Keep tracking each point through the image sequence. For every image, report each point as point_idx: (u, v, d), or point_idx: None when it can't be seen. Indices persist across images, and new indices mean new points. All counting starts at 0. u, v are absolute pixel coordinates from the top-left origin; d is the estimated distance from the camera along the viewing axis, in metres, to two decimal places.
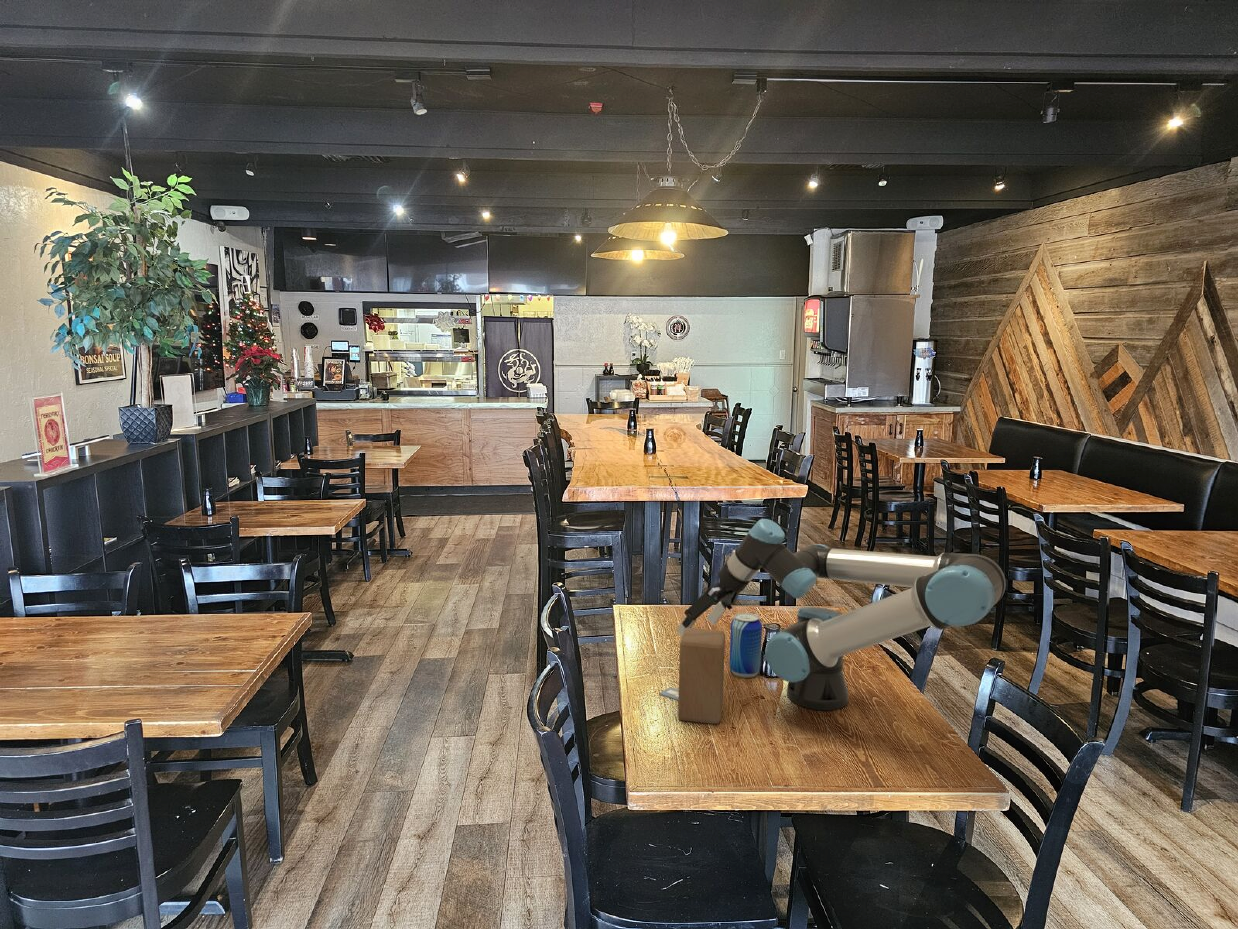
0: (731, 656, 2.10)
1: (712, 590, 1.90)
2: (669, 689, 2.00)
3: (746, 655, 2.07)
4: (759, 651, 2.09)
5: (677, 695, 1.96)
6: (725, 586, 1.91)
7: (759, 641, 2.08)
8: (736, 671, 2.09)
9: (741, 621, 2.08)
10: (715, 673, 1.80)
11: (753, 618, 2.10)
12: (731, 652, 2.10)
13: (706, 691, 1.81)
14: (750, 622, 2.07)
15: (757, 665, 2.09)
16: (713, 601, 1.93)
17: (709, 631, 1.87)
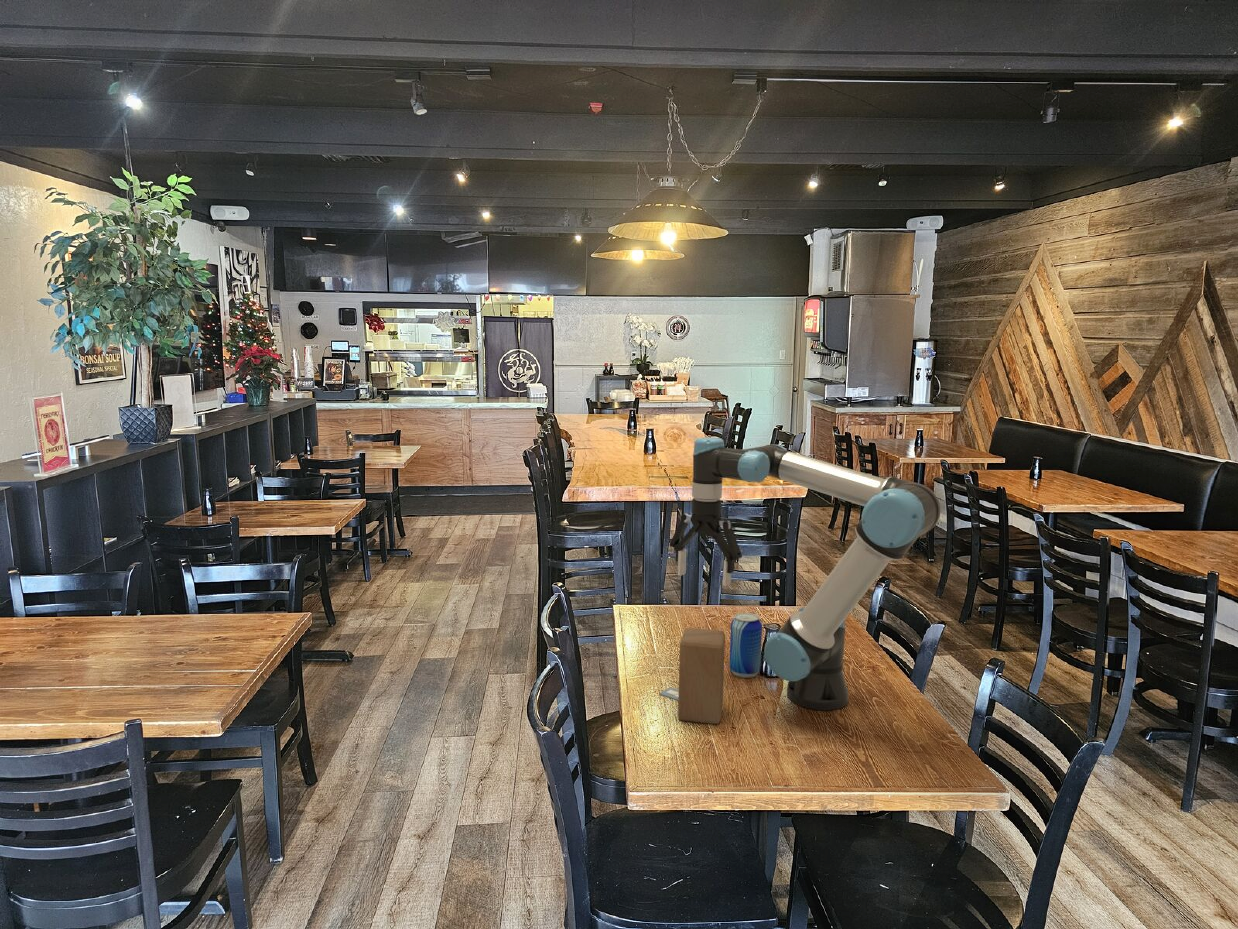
0: (731, 656, 2.10)
1: None
2: (669, 689, 2.00)
3: (746, 655, 2.07)
4: (759, 651, 2.09)
5: (677, 695, 1.96)
6: None
7: (759, 641, 2.08)
8: (736, 671, 2.09)
9: (741, 621, 2.08)
10: (715, 673, 1.80)
11: (753, 618, 2.10)
12: (731, 652, 2.10)
13: (706, 691, 1.81)
14: (750, 622, 2.07)
15: (757, 665, 2.09)
16: None
17: (709, 631, 1.87)
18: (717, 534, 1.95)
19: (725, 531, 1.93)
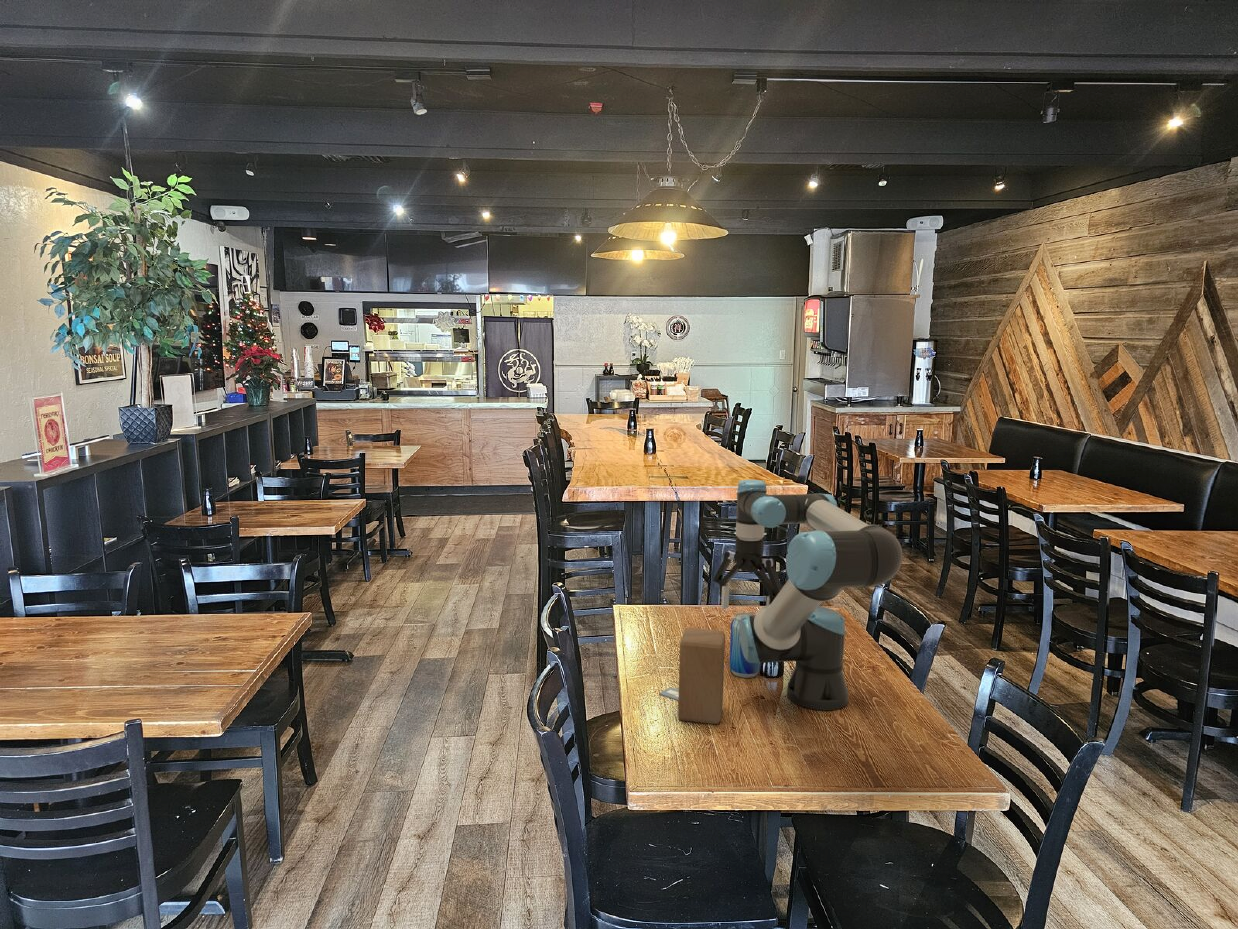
0: (731, 656, 2.10)
1: None
2: (669, 689, 2.00)
3: None
4: None
5: (677, 695, 1.96)
6: None
7: None
8: (736, 671, 2.09)
9: None
10: (715, 673, 1.80)
11: None
12: (731, 652, 2.10)
13: (706, 691, 1.81)
14: None
15: (757, 665, 2.09)
16: (733, 567, 2.10)
17: (709, 631, 1.87)
18: (760, 571, 2.06)
19: (768, 569, 2.03)
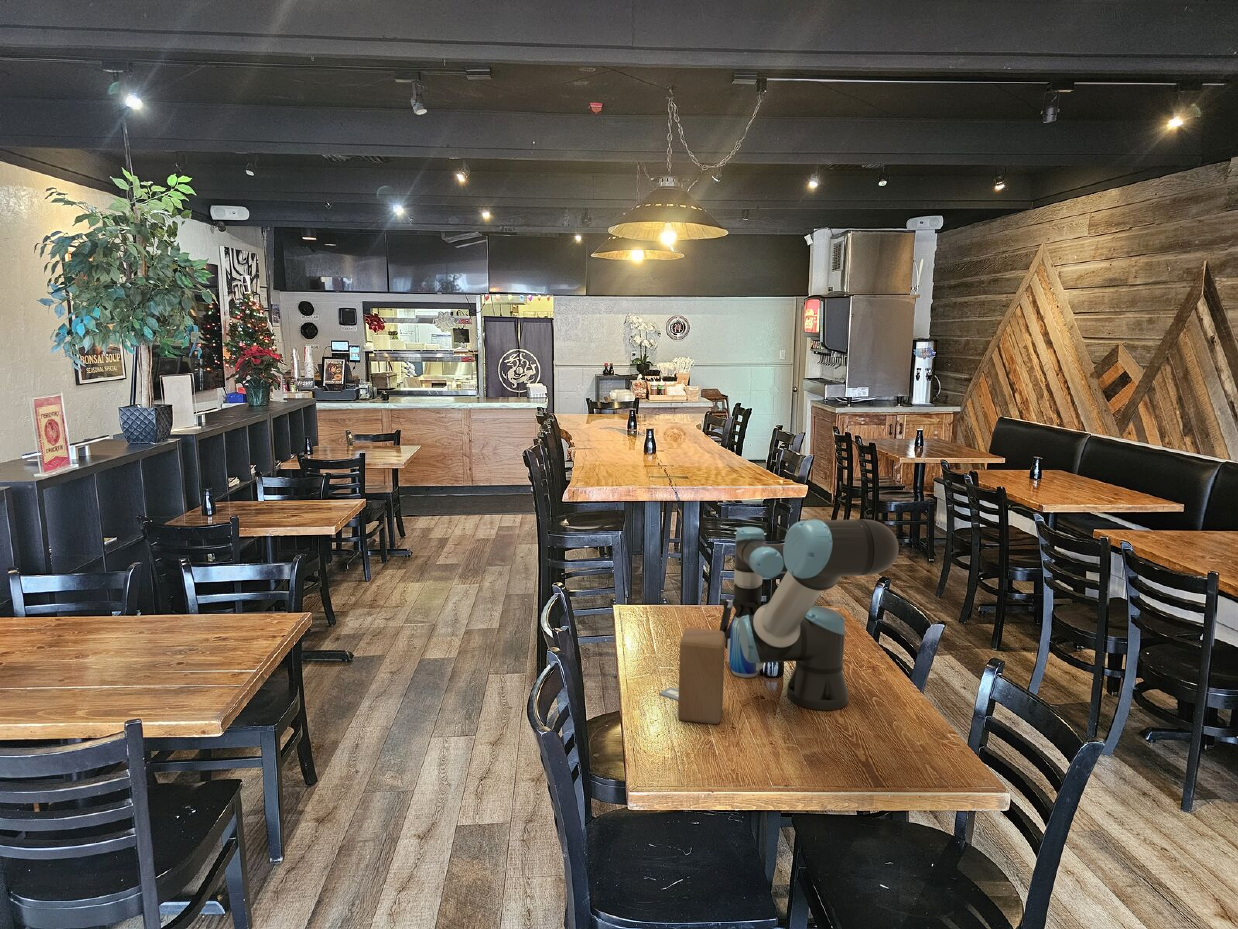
0: (731, 656, 2.10)
1: None
2: (669, 689, 2.00)
3: None
4: None
5: (677, 695, 1.96)
6: None
7: None
8: (736, 671, 2.09)
9: None
10: (715, 673, 1.80)
11: None
12: (731, 652, 2.10)
13: (706, 691, 1.81)
14: None
15: None
16: None
17: (709, 631, 1.87)
18: None
19: None
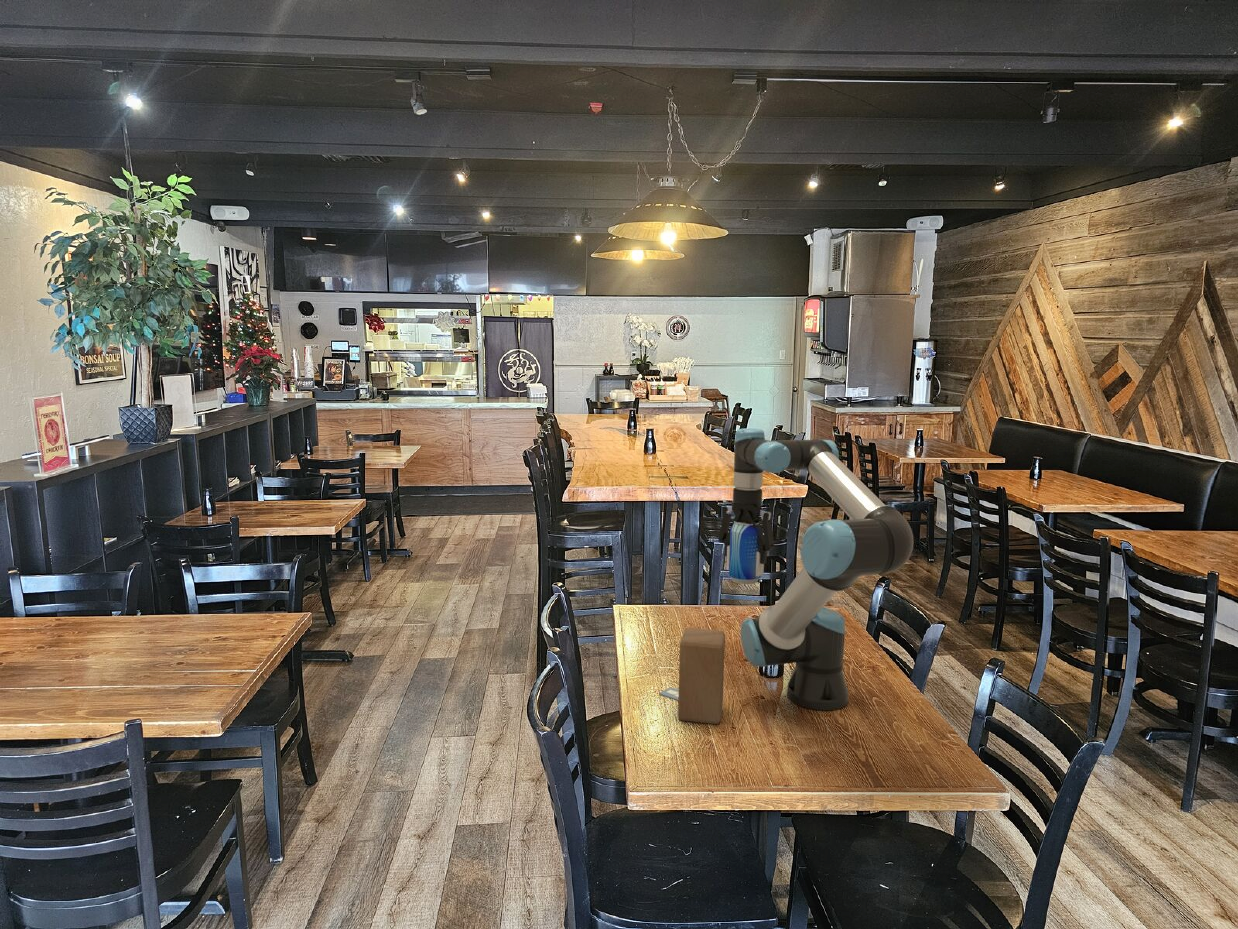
0: (730, 562, 2.04)
1: None
2: (669, 689, 2.00)
3: (745, 560, 2.01)
4: None
5: (677, 695, 1.96)
6: None
7: None
8: (735, 577, 2.03)
9: (740, 525, 2.01)
10: (715, 673, 1.80)
11: None
12: (731, 558, 2.04)
13: (706, 691, 1.81)
14: (750, 525, 2.01)
15: None
16: None
17: (709, 631, 1.87)
18: None
19: (764, 522, 1.99)
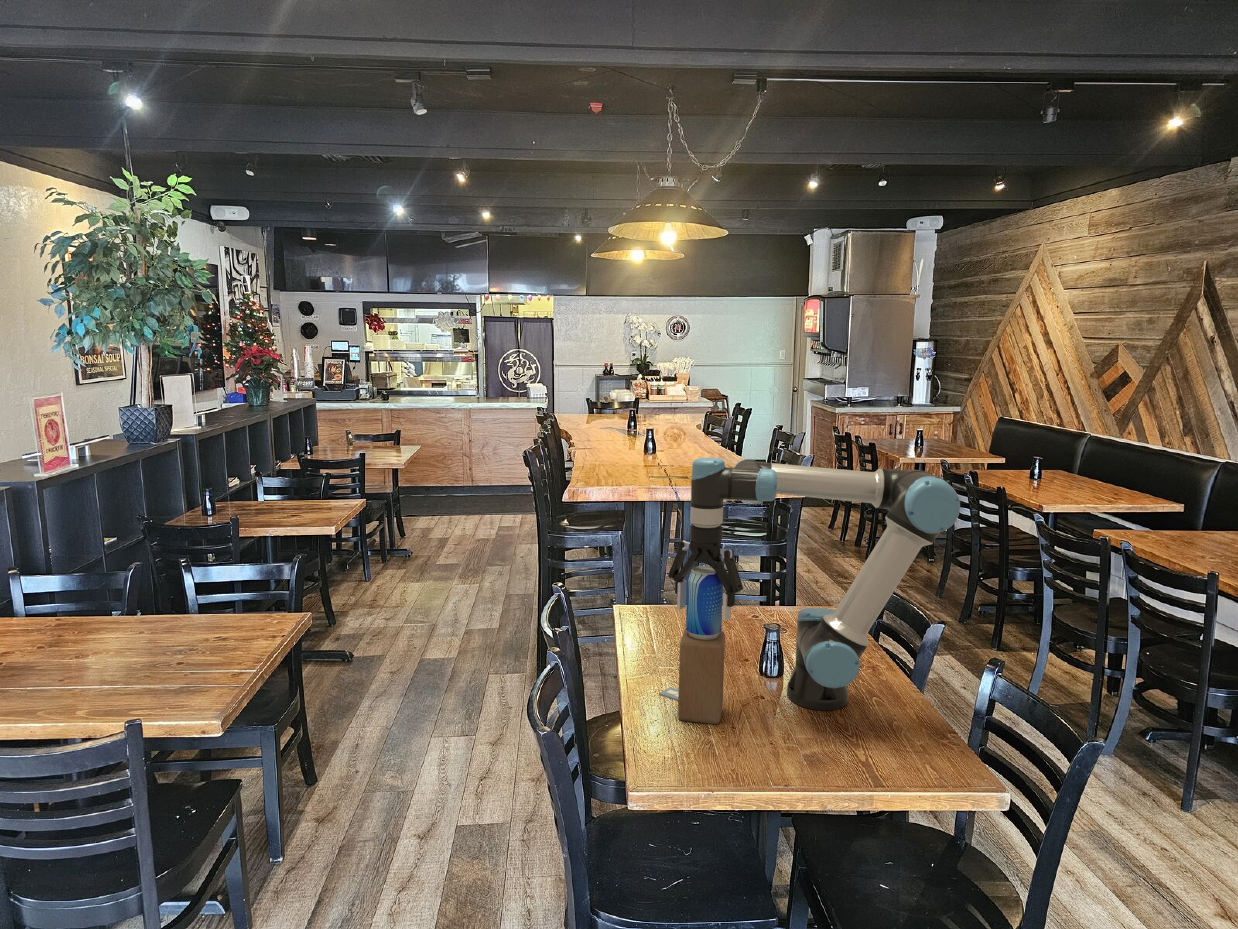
0: (687, 615, 1.83)
1: None
2: (669, 689, 2.00)
3: (704, 613, 1.80)
4: (719, 609, 1.81)
5: (677, 695, 1.96)
6: None
7: (719, 597, 1.81)
8: (693, 632, 1.81)
9: (698, 574, 1.80)
10: (715, 673, 1.80)
11: (712, 571, 1.82)
12: (687, 610, 1.82)
13: (706, 691, 1.81)
14: (708, 575, 1.79)
15: (717, 625, 1.81)
16: None
17: None
18: (717, 563, 1.79)
19: (726, 561, 1.77)
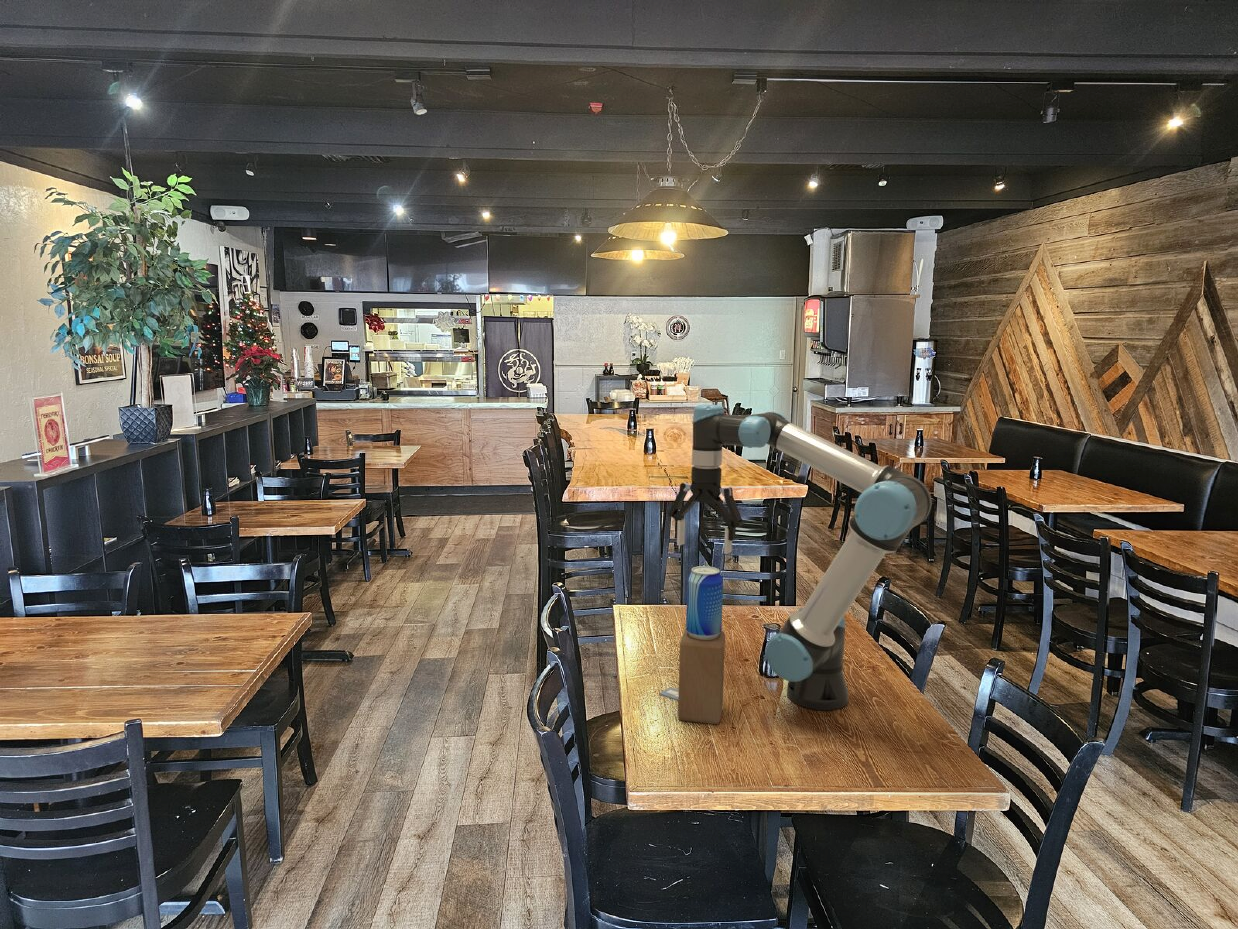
0: (687, 615, 1.83)
1: None
2: (669, 689, 2.00)
3: (704, 614, 1.80)
4: (719, 609, 1.81)
5: (677, 695, 1.96)
6: None
7: (719, 598, 1.81)
8: (693, 632, 1.81)
9: (698, 574, 1.80)
10: (715, 673, 1.80)
11: (713, 571, 1.82)
12: (688, 610, 1.82)
13: (706, 691, 1.81)
14: (709, 575, 1.79)
15: (717, 625, 1.81)
16: None
17: None
18: (718, 502, 1.93)
19: (726, 498, 1.91)
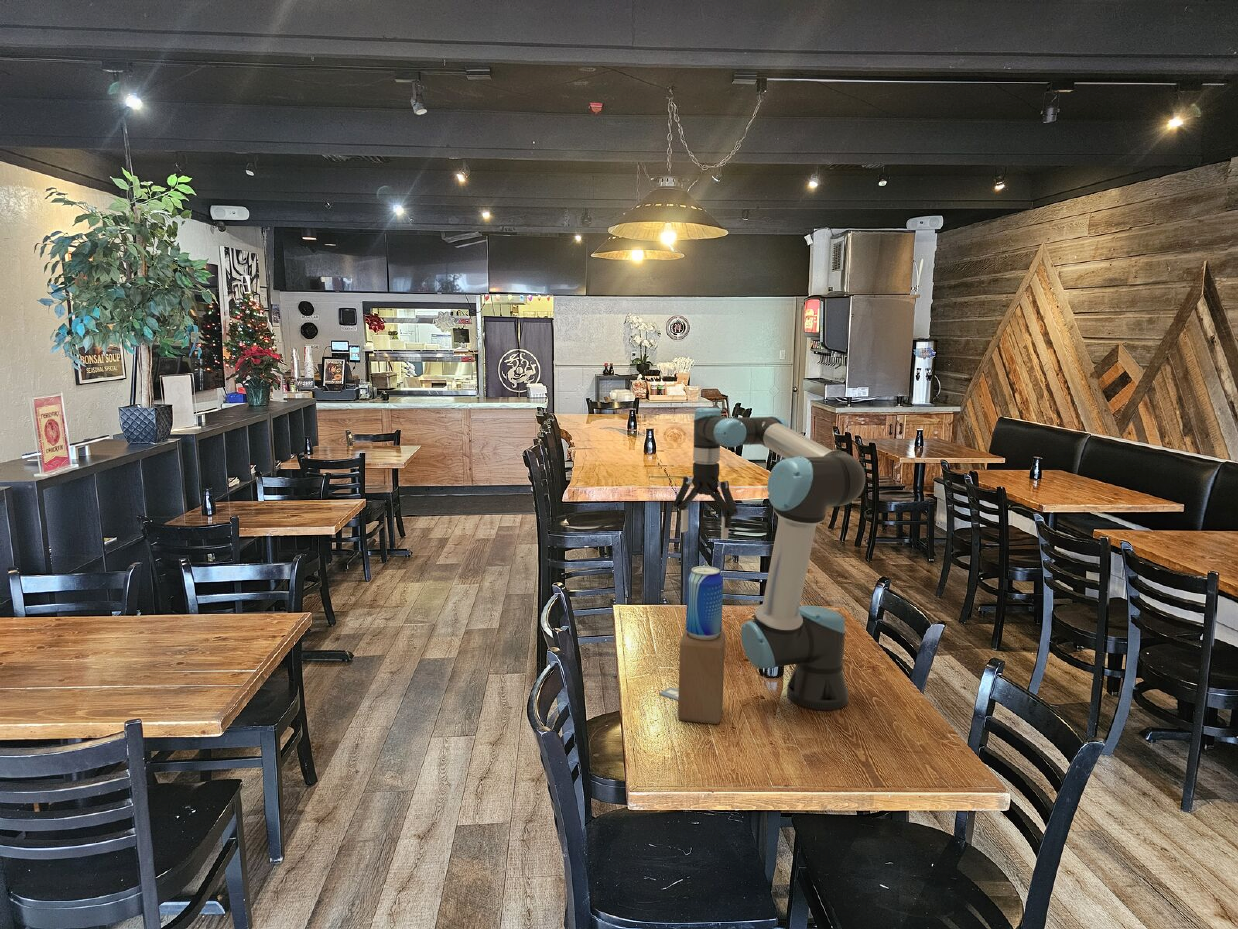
0: (687, 615, 1.83)
1: None
2: (669, 689, 2.00)
3: (704, 614, 1.80)
4: (719, 609, 1.81)
5: (677, 695, 1.96)
6: None
7: (719, 598, 1.81)
8: (693, 632, 1.81)
9: (698, 574, 1.80)
10: (715, 673, 1.80)
11: (713, 571, 1.82)
12: (688, 610, 1.82)
13: (706, 691, 1.81)
14: (709, 575, 1.79)
15: (717, 625, 1.81)
16: None
17: None
18: (716, 493, 2.19)
19: (723, 490, 2.16)
